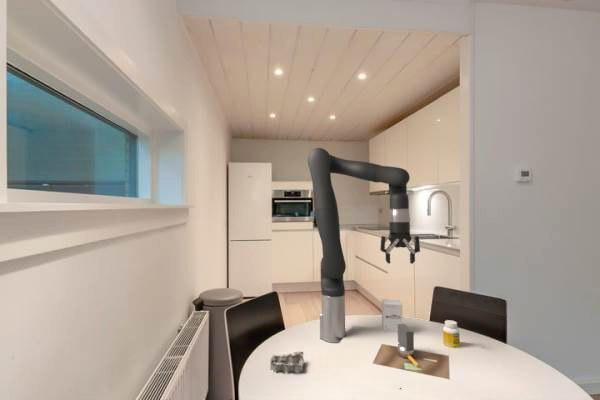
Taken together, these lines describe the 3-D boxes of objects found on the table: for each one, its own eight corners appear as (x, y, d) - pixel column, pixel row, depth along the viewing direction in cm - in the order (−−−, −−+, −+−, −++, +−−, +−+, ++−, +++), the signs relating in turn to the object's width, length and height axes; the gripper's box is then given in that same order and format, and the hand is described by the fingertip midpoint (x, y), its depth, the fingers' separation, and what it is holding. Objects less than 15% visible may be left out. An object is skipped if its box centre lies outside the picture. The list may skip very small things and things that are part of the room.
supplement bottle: (448, 344, 115) (448, 318, 115) (462, 349, 110) (462, 322, 111) (440, 347, 112) (439, 321, 112) (454, 353, 107) (453, 325, 108)
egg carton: (305, 363, 101) (305, 351, 101) (302, 375, 94) (302, 362, 94) (273, 361, 103) (273, 349, 103) (268, 373, 95) (268, 359, 95)
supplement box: (384, 335, 124) (383, 303, 124) (381, 328, 131) (381, 298, 132) (403, 336, 123) (402, 304, 123) (399, 329, 130) (399, 299, 131)
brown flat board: (372, 368, 97) (372, 363, 98) (381, 348, 112) (381, 343, 112) (449, 384, 88) (449, 378, 88) (448, 360, 102) (448, 355, 103)
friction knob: (394, 350, 106) (394, 324, 106) (408, 350, 106) (407, 323, 107) (409, 368, 94) (409, 338, 94) (425, 367, 94) (424, 337, 95)
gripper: (415, 220, 121) (416, 262, 120) (378, 220, 122) (379, 261, 121) (421, 221, 113) (422, 265, 113) (382, 221, 115) (382, 264, 114)
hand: (400, 263), depth 117 cm, fingers open, 8 cm apart
